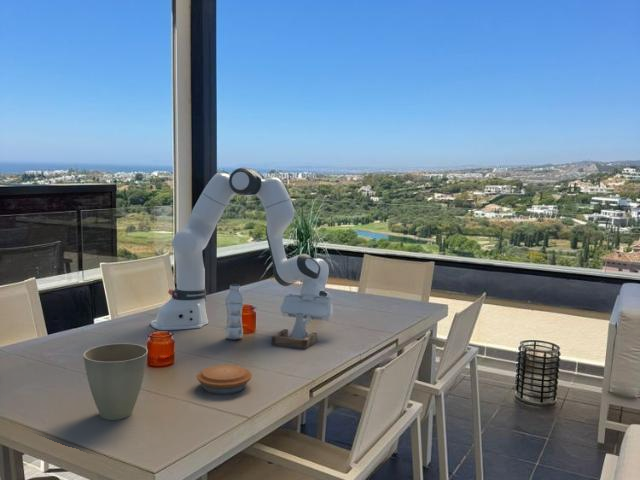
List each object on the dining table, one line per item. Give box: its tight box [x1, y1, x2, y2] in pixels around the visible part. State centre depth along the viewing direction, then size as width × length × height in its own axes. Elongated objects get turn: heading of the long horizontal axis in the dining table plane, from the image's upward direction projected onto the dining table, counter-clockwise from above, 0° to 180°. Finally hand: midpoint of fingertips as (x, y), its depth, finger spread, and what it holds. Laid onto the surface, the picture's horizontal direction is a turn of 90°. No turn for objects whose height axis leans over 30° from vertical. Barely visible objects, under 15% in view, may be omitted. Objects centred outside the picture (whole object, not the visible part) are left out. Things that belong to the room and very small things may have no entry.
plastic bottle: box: [224, 284, 244, 340], centre depth 213 cm, size 6×7×20 cm
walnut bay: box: [271, 328, 318, 350], centre depth 211 cm, size 12×13×3 cm
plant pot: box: [83, 342, 149, 421], centre depth 143 cm, size 15×15×16 cm
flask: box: [289, 313, 308, 339], centre depth 214 cm, size 7×7×10 cm
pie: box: [195, 364, 253, 395], centre depth 164 cm, size 16×16×5 cm
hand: (301, 327), depth 217 cm, fingers closed, pressing on flask
